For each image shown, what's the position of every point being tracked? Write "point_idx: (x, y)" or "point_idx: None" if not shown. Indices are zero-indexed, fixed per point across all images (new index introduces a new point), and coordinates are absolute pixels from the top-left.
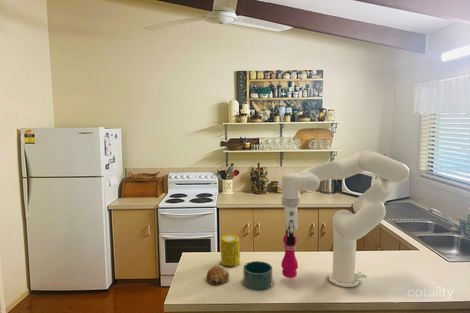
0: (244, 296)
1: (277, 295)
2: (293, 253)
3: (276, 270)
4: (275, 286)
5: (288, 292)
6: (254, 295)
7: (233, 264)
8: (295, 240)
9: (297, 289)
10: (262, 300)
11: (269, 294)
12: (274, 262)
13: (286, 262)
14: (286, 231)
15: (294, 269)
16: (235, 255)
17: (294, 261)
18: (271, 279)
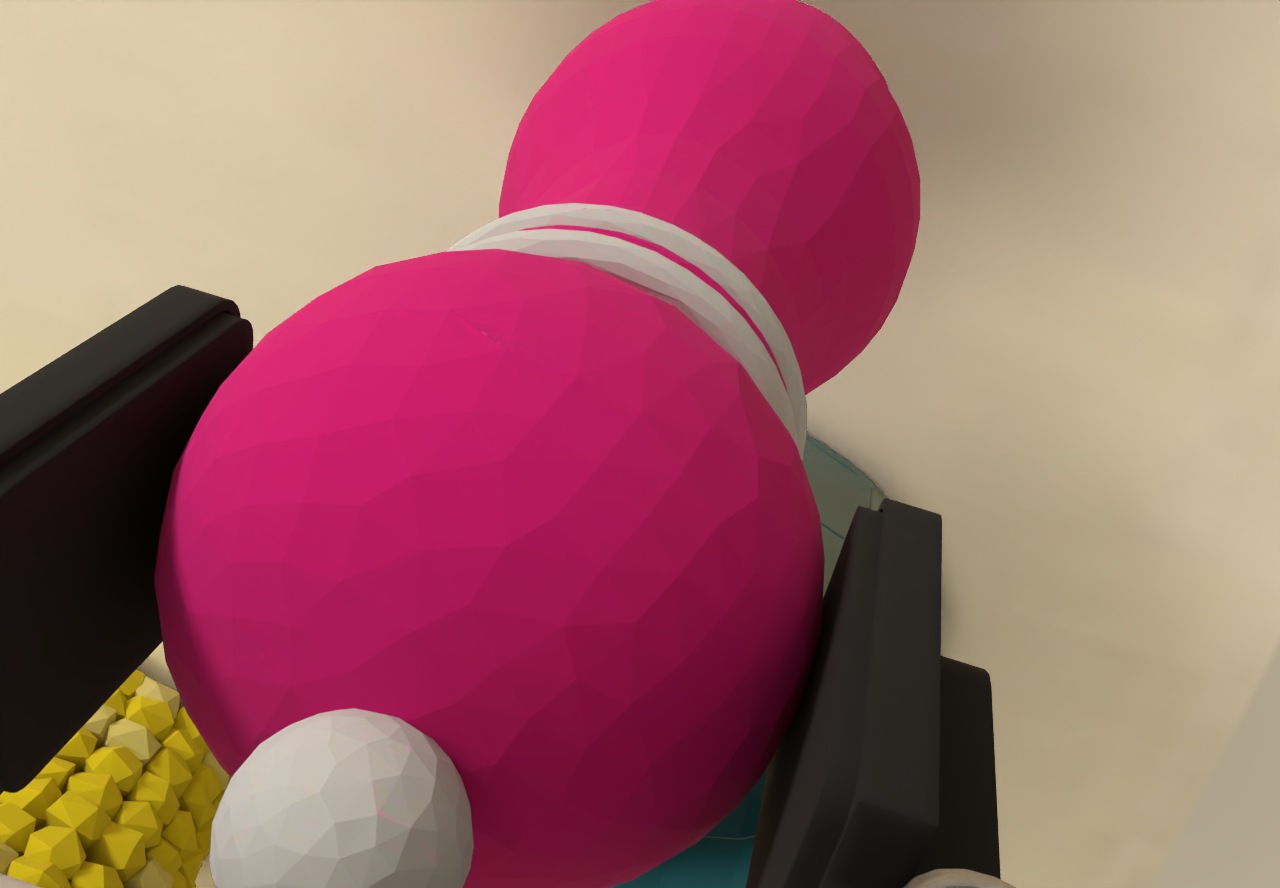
0: (1032, 847)
1: (1163, 466)
2: (757, 271)
3: (330, 203)
4: (875, 402)
5: (1135, 265)
6: (1048, 742)
7: (213, 765)
8: (748, 475)
9: (1087, 62)
10: (1219, 697)
11: (1091, 562)
12: (30, 139)
13: (813, 387)
14: (15, 781)
15: (914, 153)
16: (138, 852)
17: (848, 187)
18: (832, 510)
